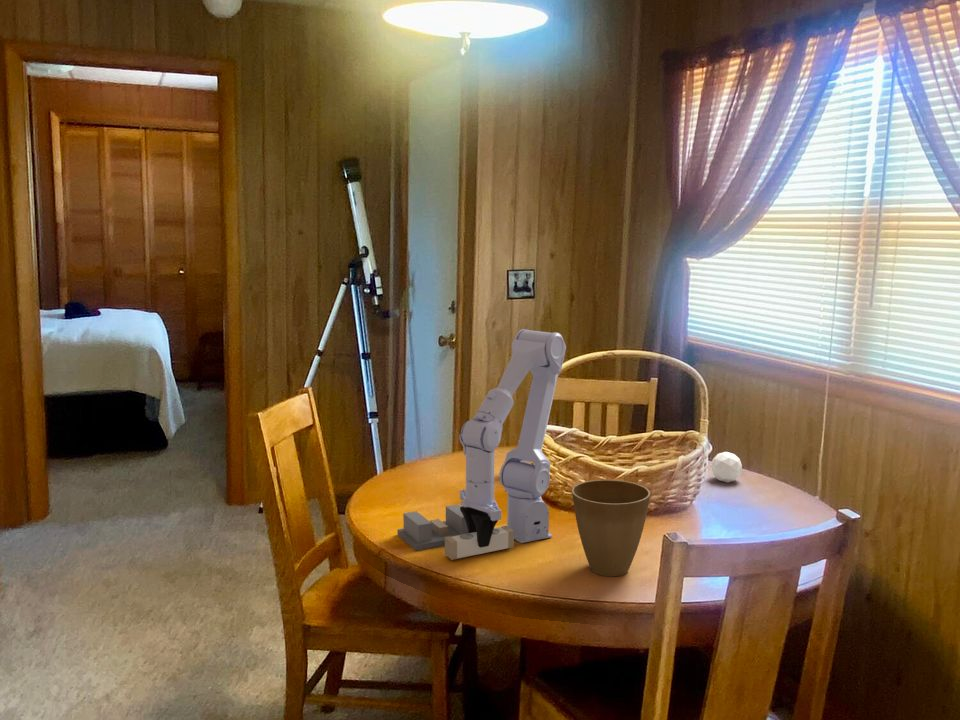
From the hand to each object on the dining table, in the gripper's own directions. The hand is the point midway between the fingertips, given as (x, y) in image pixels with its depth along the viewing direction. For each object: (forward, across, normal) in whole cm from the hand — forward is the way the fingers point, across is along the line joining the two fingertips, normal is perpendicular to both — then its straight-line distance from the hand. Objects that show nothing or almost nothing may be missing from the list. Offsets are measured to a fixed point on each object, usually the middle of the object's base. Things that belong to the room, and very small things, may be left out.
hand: (479, 543), depth 174 cm
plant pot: (+2, +18, +19) cm, 26 cm away
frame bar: (+2, 0, 0) cm, 2 cm away
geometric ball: (+3, -14, +80) cm, 81 cm away
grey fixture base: (+2, -12, -4) cm, 13 cm away
